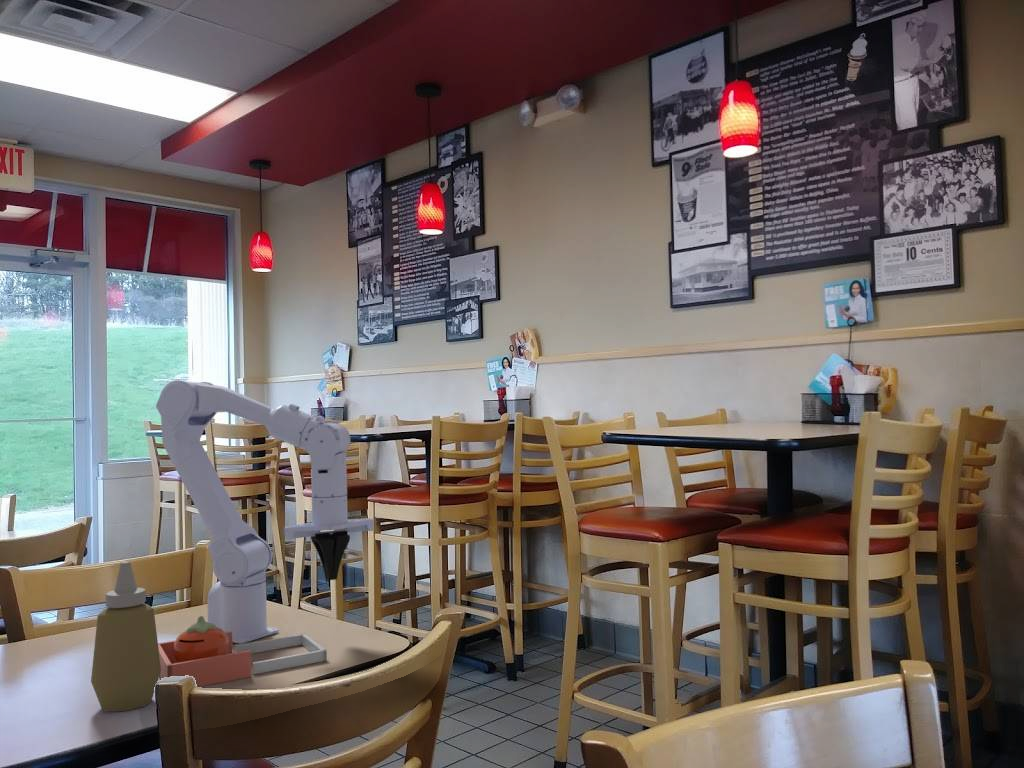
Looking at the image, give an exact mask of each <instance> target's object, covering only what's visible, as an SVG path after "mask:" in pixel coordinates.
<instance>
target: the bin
mask: <svg viewBox="0 0 1024 768" xmlns="http://www.w3.org/2000/svg"><path fill="white" fill-rule="evenodd" d="M226 634H227V636H228V641H229V644H228V651H227V654H226V655H220V656H214V657H208V658H203V659H197V660H191V661H186V662H180V663H177V661H176V659H175V656H174V651H173V649H174V643H175V641H176V639H175V640H170V641H164V642H158V648H159V657H160V665H161V672H160V675H159V679H160V680H161V678H164V677H170V676H185V675H189V676H193V677H194V678H195V680H196V684H197V686H199V687H205V686H209V685H214V684H219V683H225V682H231V681H235V680H241V679H247V678H251V677H252V653H251V651H250V650H248V651H243V652H237V653H236V652H233V642H232V632H231V631H230V632H226Z"/></svg>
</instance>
